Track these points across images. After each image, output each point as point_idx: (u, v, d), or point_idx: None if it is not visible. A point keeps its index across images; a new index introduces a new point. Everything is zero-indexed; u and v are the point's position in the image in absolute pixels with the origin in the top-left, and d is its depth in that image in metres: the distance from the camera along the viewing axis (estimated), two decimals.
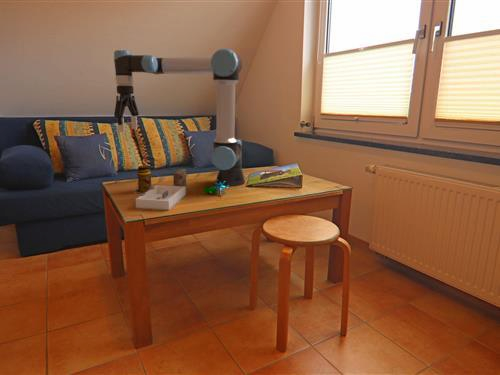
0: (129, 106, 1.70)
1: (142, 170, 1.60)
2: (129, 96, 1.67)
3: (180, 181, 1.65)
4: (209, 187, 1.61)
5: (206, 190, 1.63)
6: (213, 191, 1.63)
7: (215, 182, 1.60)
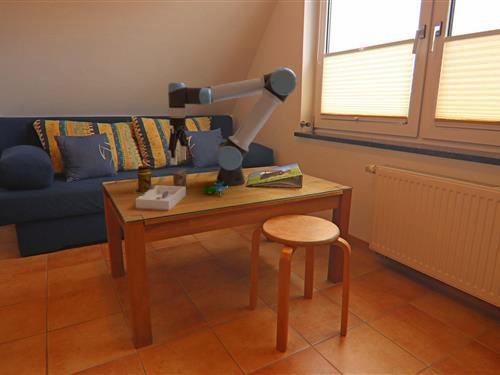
0: (180, 137, 1.67)
1: (142, 170, 1.60)
2: (181, 127, 1.64)
3: (180, 181, 1.65)
4: (208, 187, 1.60)
5: (205, 190, 1.62)
6: (212, 191, 1.62)
7: (214, 182, 1.59)
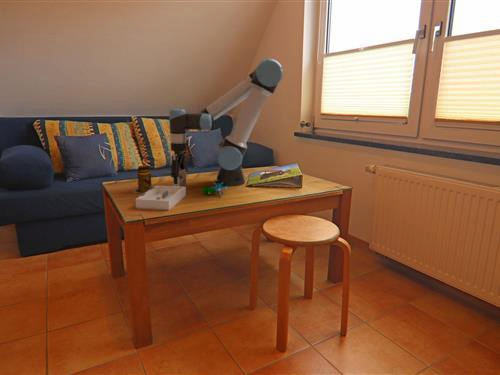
0: (180, 162, 1.70)
1: (142, 170, 1.60)
2: (182, 151, 1.67)
3: (180, 181, 1.65)
4: (208, 188, 1.59)
5: (204, 191, 1.61)
6: (211, 192, 1.62)
7: (214, 183, 1.59)
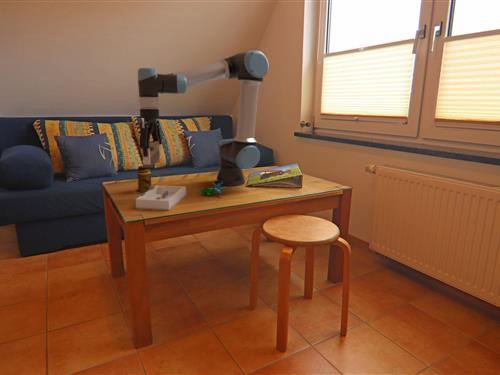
0: (153, 132, 1.46)
1: (142, 170, 1.60)
2: (154, 120, 1.43)
3: (151, 154, 1.42)
4: (207, 188, 1.58)
5: (203, 192, 1.60)
6: (210, 192, 1.61)
7: (213, 183, 1.58)
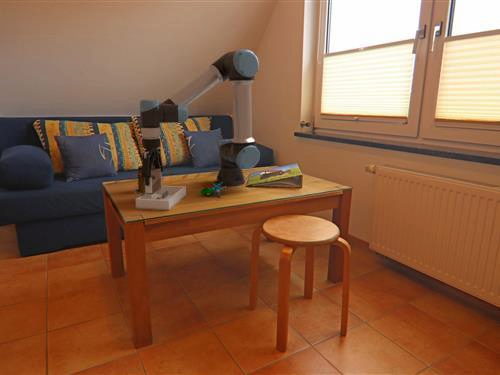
0: (154, 160, 1.49)
1: None
2: (155, 149, 1.46)
3: (153, 183, 1.45)
4: (206, 189, 1.58)
5: (203, 192, 1.59)
6: (210, 193, 1.60)
7: None
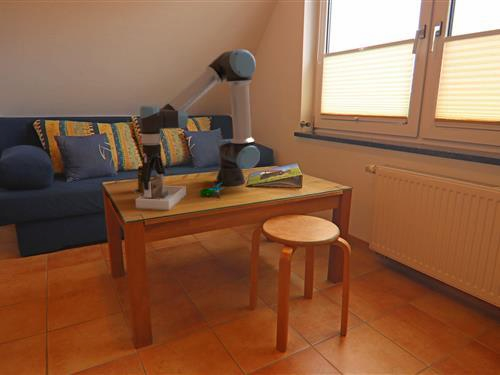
0: (155, 165, 1.50)
1: None
2: (156, 155, 1.47)
3: (154, 191, 1.46)
4: (206, 189, 1.57)
5: (202, 192, 1.59)
6: (209, 193, 1.60)
7: (212, 184, 1.57)
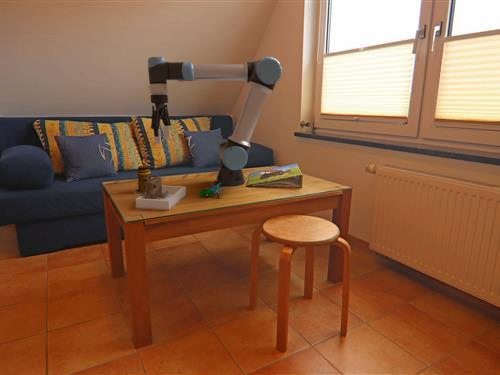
0: (162, 116, 1.60)
1: (142, 170, 1.60)
2: (163, 105, 1.57)
3: (154, 191, 1.46)
4: (205, 190, 1.56)
5: (201, 193, 1.58)
6: (209, 193, 1.59)
7: (212, 184, 1.56)
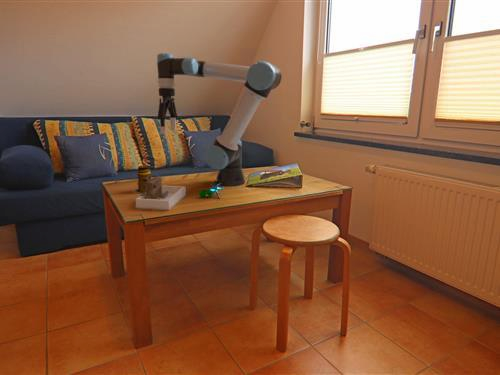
0: (169, 108, 1.73)
1: (142, 170, 1.60)
2: (170, 98, 1.70)
3: (154, 191, 1.46)
4: (205, 190, 1.55)
5: (201, 193, 1.57)
6: (208, 194, 1.58)
7: (211, 184, 1.55)
